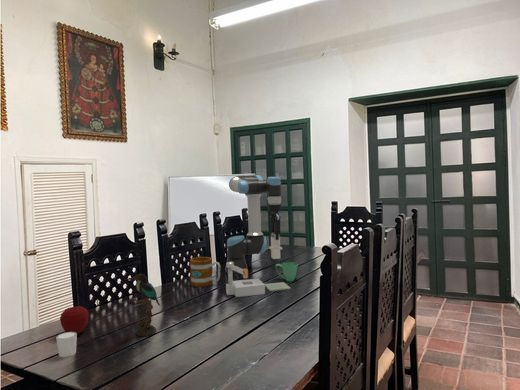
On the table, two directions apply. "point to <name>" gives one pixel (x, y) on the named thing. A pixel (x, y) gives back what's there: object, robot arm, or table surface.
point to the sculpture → (148, 293)
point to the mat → (277, 286)
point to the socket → (244, 286)
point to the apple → (74, 319)
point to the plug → (275, 249)
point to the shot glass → (66, 344)
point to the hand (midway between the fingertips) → (275, 244)
